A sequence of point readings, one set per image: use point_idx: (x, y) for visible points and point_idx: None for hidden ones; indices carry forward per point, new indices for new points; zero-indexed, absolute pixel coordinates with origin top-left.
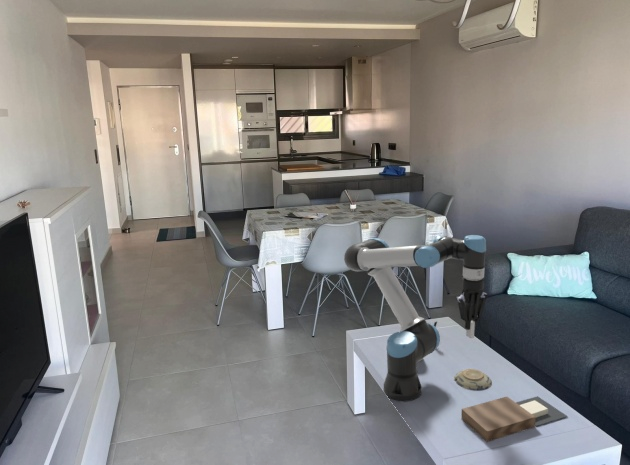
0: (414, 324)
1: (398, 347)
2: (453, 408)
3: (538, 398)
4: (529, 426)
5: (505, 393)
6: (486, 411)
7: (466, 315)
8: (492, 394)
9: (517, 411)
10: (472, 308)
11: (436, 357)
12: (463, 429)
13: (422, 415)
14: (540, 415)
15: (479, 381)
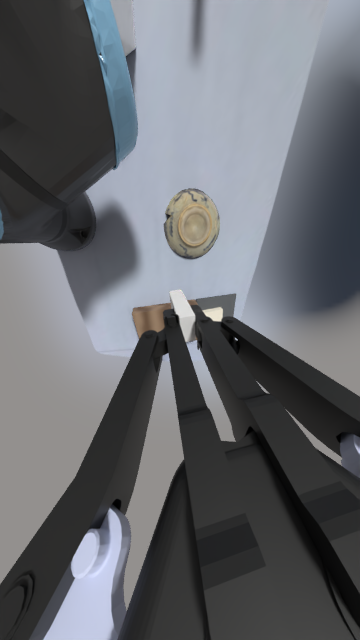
0: None
1: None
2: (132, 287)
3: (233, 297)
4: None
5: (210, 276)
6: (158, 323)
7: (156, 376)
8: (195, 273)
9: None
10: (216, 370)
11: (174, 62)
12: (128, 323)
13: (85, 290)
14: None
15: (193, 249)
